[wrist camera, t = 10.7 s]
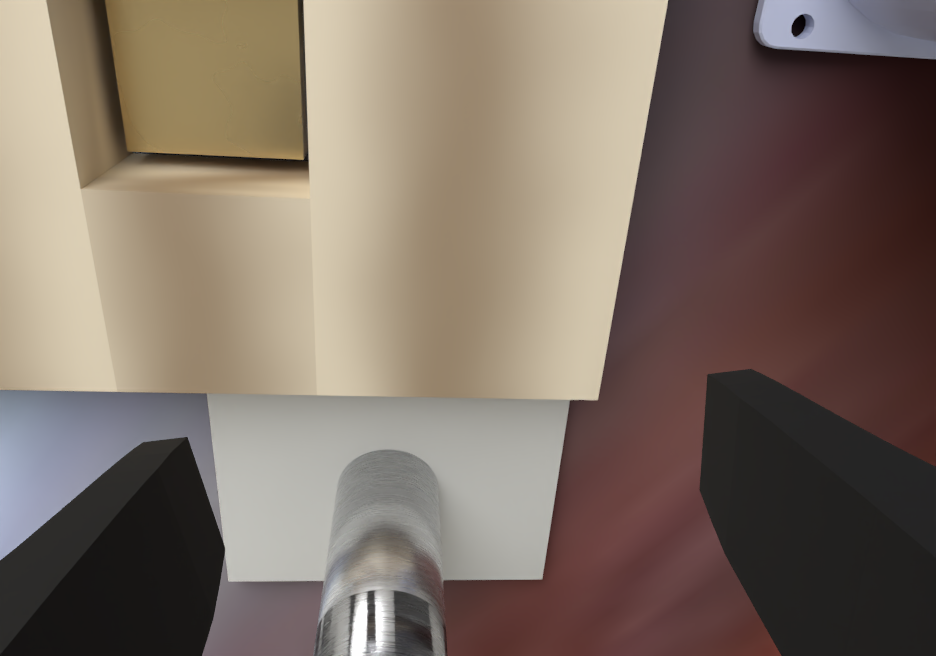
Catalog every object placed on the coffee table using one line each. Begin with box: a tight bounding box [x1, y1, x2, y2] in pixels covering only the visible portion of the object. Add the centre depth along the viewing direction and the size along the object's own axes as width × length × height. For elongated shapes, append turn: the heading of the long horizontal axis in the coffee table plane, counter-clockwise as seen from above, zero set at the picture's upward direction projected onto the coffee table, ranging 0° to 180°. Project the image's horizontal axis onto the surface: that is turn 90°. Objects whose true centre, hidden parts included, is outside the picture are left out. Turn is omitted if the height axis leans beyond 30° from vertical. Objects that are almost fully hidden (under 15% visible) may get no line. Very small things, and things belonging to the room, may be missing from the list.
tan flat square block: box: [105, 0, 308, 160], centre depth 15 cm, size 4×4×1 cm
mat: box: [207, 393, 570, 582], centre depth 22 cm, size 10×7×1 cm
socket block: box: [0, 0, 668, 400], centre depth 15 cm, size 18×14×3 cm
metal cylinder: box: [313, 449, 447, 656], centre depth 18 cm, size 3×3×7 cm
